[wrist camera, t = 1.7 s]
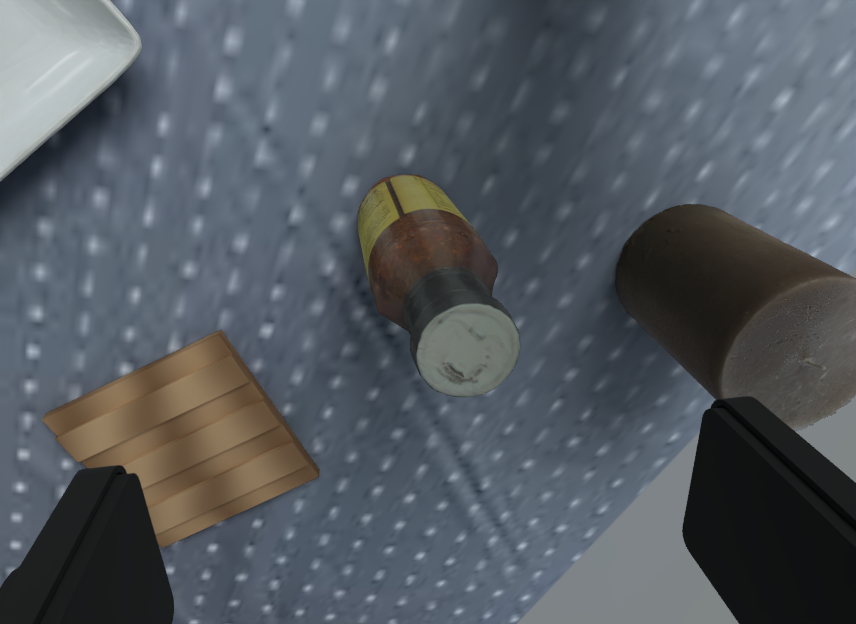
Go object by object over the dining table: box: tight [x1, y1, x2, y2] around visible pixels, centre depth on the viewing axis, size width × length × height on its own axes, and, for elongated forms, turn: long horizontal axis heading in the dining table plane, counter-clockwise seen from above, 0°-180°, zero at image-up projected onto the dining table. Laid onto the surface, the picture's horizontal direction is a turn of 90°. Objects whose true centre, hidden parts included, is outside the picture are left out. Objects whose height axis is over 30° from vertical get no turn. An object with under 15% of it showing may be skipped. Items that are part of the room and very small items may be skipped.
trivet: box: [42, 330, 319, 548], centre depth 45 cm, size 14×14×1 cm
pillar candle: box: [616, 204, 856, 431], centre depth 38 cm, size 10×10×15 cm
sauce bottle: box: [358, 174, 520, 397], centre depth 31 cm, size 7×6×20 cm
